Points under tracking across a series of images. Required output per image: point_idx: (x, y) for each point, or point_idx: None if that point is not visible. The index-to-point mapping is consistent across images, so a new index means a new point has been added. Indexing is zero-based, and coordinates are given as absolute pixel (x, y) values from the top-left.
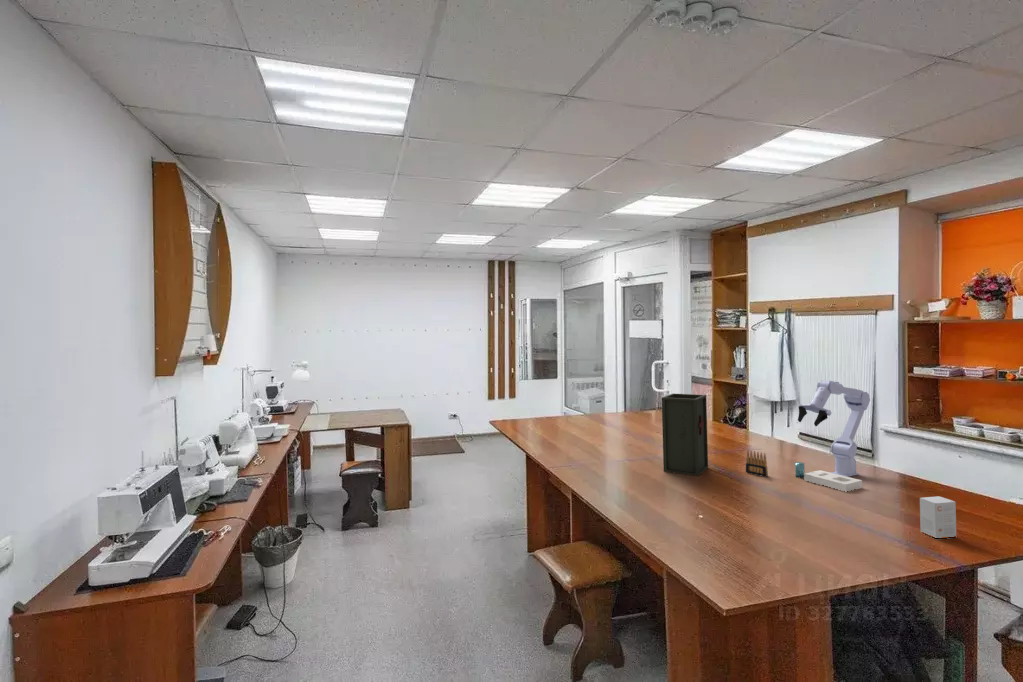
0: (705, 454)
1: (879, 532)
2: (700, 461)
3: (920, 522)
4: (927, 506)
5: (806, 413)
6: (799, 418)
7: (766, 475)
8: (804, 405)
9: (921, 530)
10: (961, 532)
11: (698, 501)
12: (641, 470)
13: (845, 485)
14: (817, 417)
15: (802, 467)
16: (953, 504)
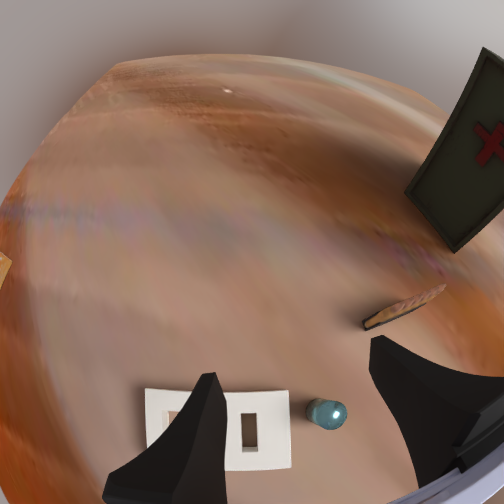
0: (471, 231)
1: (45, 215)
2: (443, 205)
3: (3, 254)
4: None
5: (420, 481)
6: (379, 344)
7: (365, 323)
8: (496, 465)
9: (9, 259)
10: None
11: (275, 110)
12: None
13: (147, 388)
14: (192, 422)
15: (314, 411)
16: None
